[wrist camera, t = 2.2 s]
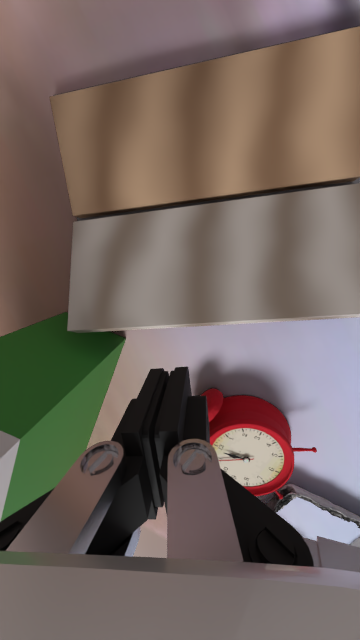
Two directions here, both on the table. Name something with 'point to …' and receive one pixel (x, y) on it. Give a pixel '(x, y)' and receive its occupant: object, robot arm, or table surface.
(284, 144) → the walnut plank
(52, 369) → the hardback book
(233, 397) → the alarm clock
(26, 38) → the table surface
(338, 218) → the grey oak plank
